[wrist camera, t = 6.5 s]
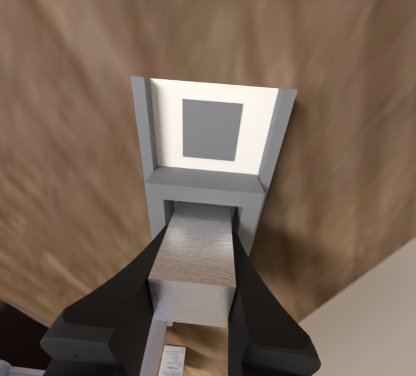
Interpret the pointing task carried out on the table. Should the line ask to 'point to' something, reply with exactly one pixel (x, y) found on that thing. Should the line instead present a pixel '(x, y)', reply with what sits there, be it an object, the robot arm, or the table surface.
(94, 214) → the table surface
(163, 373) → the medicine box
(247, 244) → the frame
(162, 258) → the steel square block
